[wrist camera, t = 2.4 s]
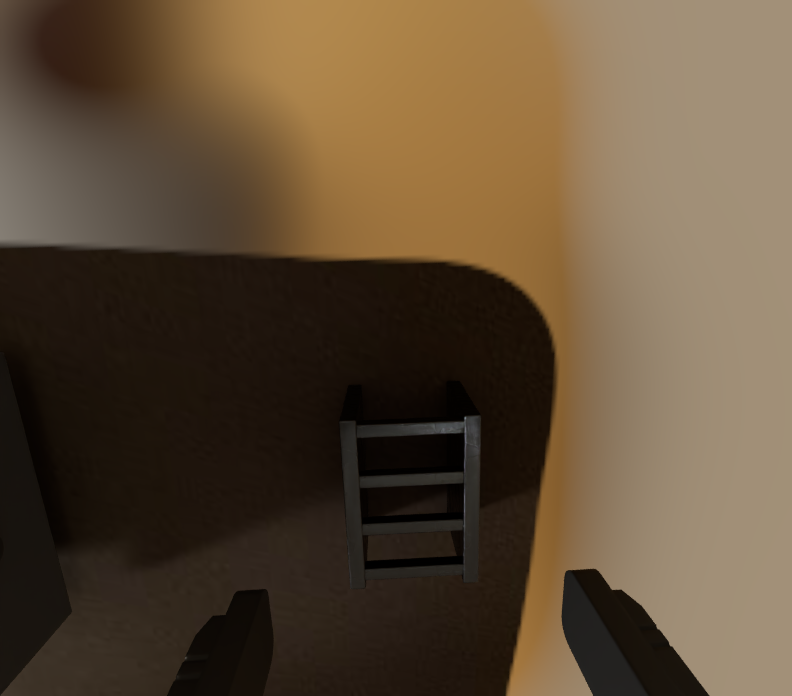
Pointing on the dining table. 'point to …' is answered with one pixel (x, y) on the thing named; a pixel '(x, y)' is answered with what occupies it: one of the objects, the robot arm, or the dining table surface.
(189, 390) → the dining table surface
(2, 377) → the two-tone hollow box
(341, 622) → the dining table surface
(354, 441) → the rack
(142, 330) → the dining table surface
